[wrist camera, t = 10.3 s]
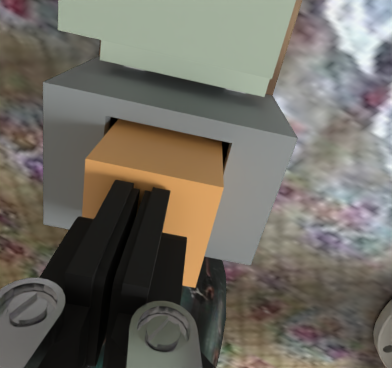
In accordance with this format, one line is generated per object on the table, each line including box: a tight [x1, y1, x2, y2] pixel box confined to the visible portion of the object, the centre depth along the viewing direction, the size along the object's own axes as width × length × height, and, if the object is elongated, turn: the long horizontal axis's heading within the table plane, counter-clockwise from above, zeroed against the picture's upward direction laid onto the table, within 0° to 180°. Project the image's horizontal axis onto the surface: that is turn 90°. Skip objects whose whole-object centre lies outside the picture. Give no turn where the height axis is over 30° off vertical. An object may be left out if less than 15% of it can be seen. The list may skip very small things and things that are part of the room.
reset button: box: [82, 119, 224, 288], centre depth 13 cm, size 4×4×5 cm
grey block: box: [43, 56, 298, 266], centre depth 16 cm, size 6×9×6 cm, turn 78°
